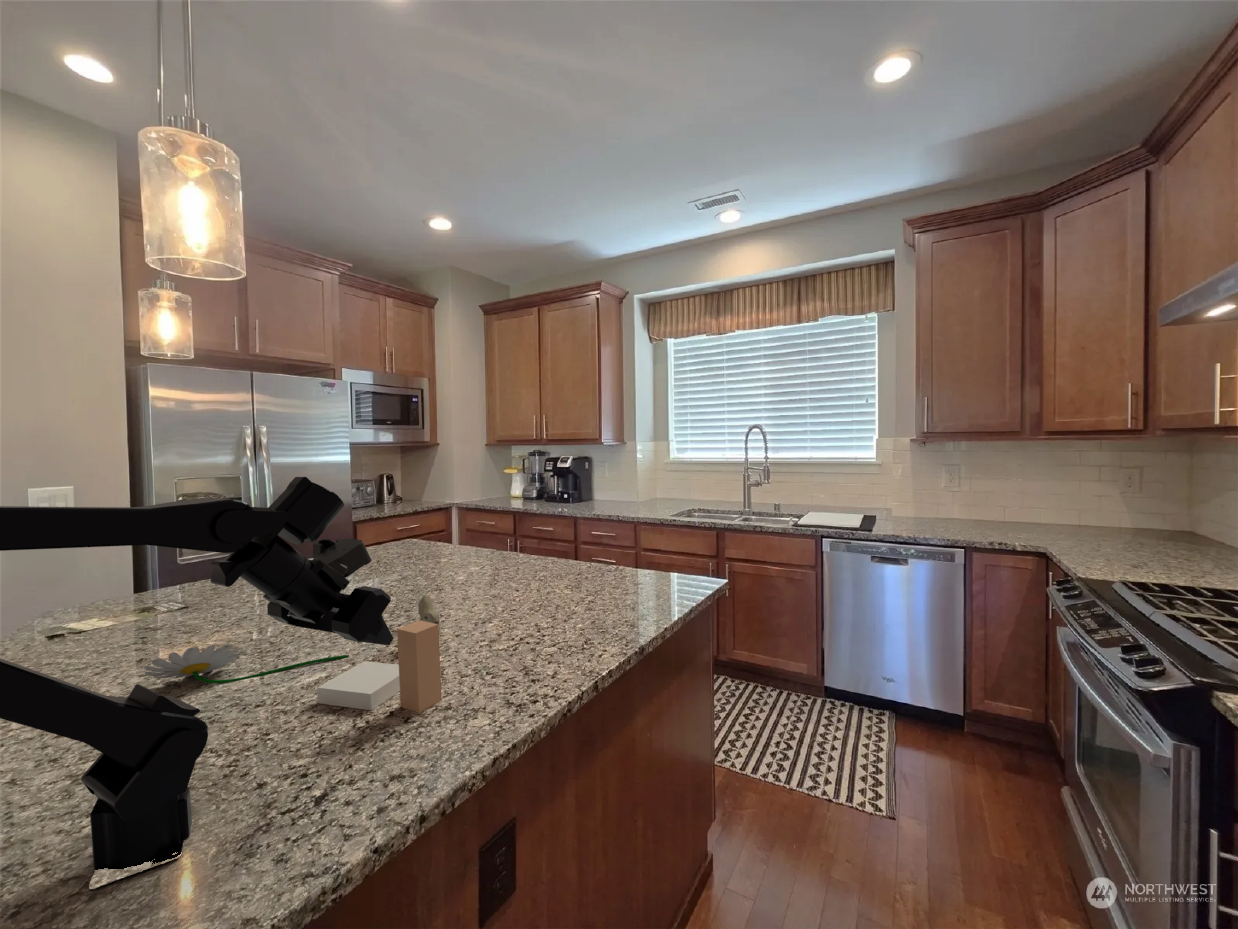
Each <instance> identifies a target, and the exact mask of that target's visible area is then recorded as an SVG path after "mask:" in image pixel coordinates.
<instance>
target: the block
mask: <svg viewBox="0 0 1238 929" xmlns="http://www.w3.org/2000/svg"><path fill="white" fill-rule="evenodd" d="M396 635H397V637H396V638H397V654H398V656H397V659H398V661H397V662H398V665H399V682H400V691H399V697H400V698H399V700H400V707H401V708H403V709H406V710H409V711H412V712H416V713H419V714H421V713H423V712H424V711H426V710H427V709H429V708H430V707H431V708H432V707H433V706H434V705H436V704H438V703H440V702H441V701H443V700H442V699H443V698H442V680H441V679H442V676H441V653H440V651H441V650H440V629H439V625H438V624H435V623H430V622H425V621H420V620H417V621H414V622H412V623H409V624H406V625H404V626H401V627H399V628H396Z"/></svg>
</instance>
